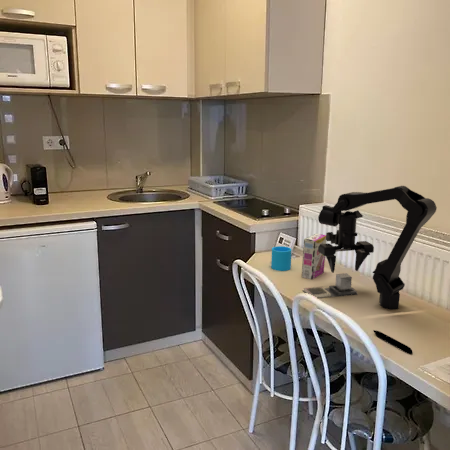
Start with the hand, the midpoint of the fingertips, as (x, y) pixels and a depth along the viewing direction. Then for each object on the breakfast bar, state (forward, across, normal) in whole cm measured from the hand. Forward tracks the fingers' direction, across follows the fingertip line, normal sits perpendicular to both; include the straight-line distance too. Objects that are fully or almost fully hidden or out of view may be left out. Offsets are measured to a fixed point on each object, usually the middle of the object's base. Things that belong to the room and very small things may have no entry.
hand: (344, 271), depth 165 cm
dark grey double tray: (+8, +5, 0) cm, 10 cm away
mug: (+9, +12, -34) cm, 37 cm away
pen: (+9, +4, +36) cm, 38 cm away
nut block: (+8, 0, 0) cm, 8 cm away
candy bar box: (+9, +3, -19) cm, 21 cm away
